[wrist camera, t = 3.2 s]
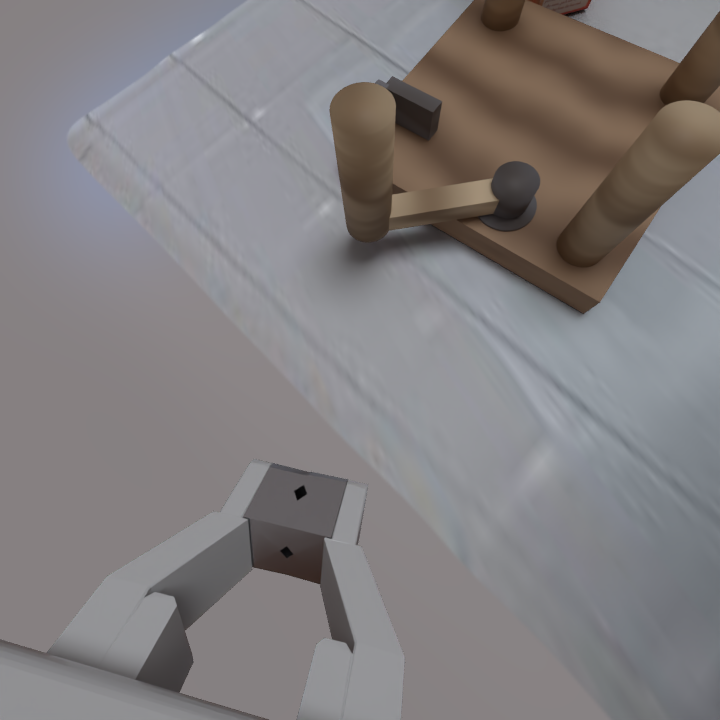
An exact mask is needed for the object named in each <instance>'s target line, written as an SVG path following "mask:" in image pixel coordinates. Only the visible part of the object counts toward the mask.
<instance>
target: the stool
mask: <svg viewBox="0 0 720 720" xmlns="http://www.w3.org/2000/svg"><path fill="white" fill-rule="evenodd" d="M375 84H378V85H380V86H383V87H384V88H386V89H387V90H388V91H389V92H390V93H391V94H392V95H393V97H394V99H395V103H396V116H395V139H394V162H393V185H392V195H393V194H399V193H406V192H412V191H418V190H424V189H430V188H436V187H442V186H449V185H455V184H461V183H467V182H473V181H479V180H486V179H492V178H493V177H494V174H495V172H496V170H497V169H498V168H499V167H500V166H501V165H503V164H505V163H507V162H511V161H520V162H524V163H527V164H529V165H531V166H532V167H534V168H535V169H536V171H537V172H538V174H539V176H540V186H539V189H538V190H537V192H536V194H535V195H534V197H533V199H532V201H531V202H530V204H529V206H528V207H527V209H526V211H525V212H524V213H523V214H522V215H520V216H518V217H515V218H510V219H506V218H501V217H498V216H496V215H494V214H489V215H483V216H476V217H470V218H464V219H458V220H452V221H445V222H439V223H433V224H431V225H433V226H435V227H436V228H438V229H440V230H442V231H443V232H445V233H447V234H448V235H450V236H452V237H453V238H455V239H457V240H459V241H460V242H462V243H464V244H465V245H467V246H469V247H471V248H472V249H474V250H476V251H477V252H479V253H481V254H483V255H484V256H486V257H488V258H489V259H491V260H493V261H494V262H496V263H498V264H500V265H501V266H503V267H505V268H506V269H508V270H510V271H512V272H513V273H515V274H517V275H518V276H520V277H522V278H523V279H525V280H527V281H529V282H530V283H532V284H534V285H535V286H537V287H539V288H541V289H542V290H544V291H546V292H547V293H549V294H551V295H552V296H554V297H556V298H558V299H559V300H561V301H563V302H564V303H566V304H568V305H570V306H571V307H573V308H575V309H576V310H578V311H580V312H581V313H583V314H584V313H585V312H587V311H588V310H590V309H591V308H592V307H594V306H595V305H597V304H598V303H600V301H601V300H602V298H603V297H604V295H605V293H606V292H607V290H608V289H609V287H610V286H611V284H612V282H613V281H614V279H615V278H616V276H617V275H618V273H619V271H620V270H621V268H622V267H623V265H624V264H625V262H626V260H627V259H628V257H629V256H630V254H631V253H632V251H633V249H634V248H635V246H636V245H637V243H638V242H639V240H640V238H641V237H642V235H643V234H644V232H645V231H646V229H647V227H648V226H649V224H650V223H651V221H652V220H653V218H654V216H655V215H656V213H657V212H658V210H659V209H660V207H661V206H662V205H663V204H664V203H665V202H666V201H667V200H668V199H670V198H671V197H672V196H673V195H674V194H675V193H676V192H677V191H678V190H680V189H681V188H682V187H683V186H684V185H685V184H686V183H687V182H688V181H690V180H691V179H692V178H693V177H694V176H695V175H696V174H697V173H698V172H700V171H701V170H702V169H703V168H704V167H705V166H706V165H707V164H709V163H710V162H711V161H712V160H713V159H714V158H715V157H716V156H717V155H719V154H720V11H719V13H718V14H717V15H716V17H715V18H714V19H713V21H712V22H711V23H710V25H709V26H708V27H707V29H706V30H705V31H704V32H703V34H702V35H701V36H700V38H699V39H698V40H697V42H696V43H695V44H694V46H693V47H692V48H691V50H690V51H689V52H688V54H687V55H686V56H685V57H684V59H683V60H682V61H681V63H678V62H675V61H673V60H671V59H668V58H666V57H663V56H661V55H659V54H656V53H654V52H651V51H649V50H646V49H644V48H642V47H639V46H637V45H634V44H632V43H630V42H627V41H625V40H622V39H620V38H618V37H615V36H613V35H610V34H608V33H605V32H603V31H601V30H598V29H596V28H593V27H591V26H589V25H586V24H584V23H581V22H579V21H576V20H574V19H572V18H569V17H567V16H564V15H562V14H560V13H557V12H555V11H552V10H550V9H548V8H545V7H543V6H540V5H538V4H535V3H533V2H531V1H528V0H474V1H473V2H472V3H471V4H470V5H469V7H468V8H467V9H466V10H465V11H464V12H463V13H462V14H461V16H460V17H459V18H458V19H457V20H456V21H455V22H454V23H453V25H452V26H451V27H450V28H449V29H448V30H447V31H446V32H445V34H444V35H443V36H442V37H441V38H440V39H439V40H438V41H437V43H436V44H435V45H434V46H433V47H432V48H431V49H430V50H429V52H428V53H427V54H426V55H425V56H424V57H423V58H422V59H421V61H420V62H419V63H418V64H417V65H416V66H415V67H414V68H413V70H412V71H411V72H410V73H409V74H408V75H407V76H406V77H405V79H404V80H403V81H401V80H399V79H397V78H395V77H393V76H392V77H391V78H390V80H389V81H388V82H387V83H385V82H383V81H381V80H379V79H378V81H377V82H376V83H375Z"/></svg>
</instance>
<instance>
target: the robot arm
mask: <svg viewBox="0 0 720 720" xmlns="http://www.w3.org/2000/svg"><path fill="white" fill-rule="evenodd" d="M367 490H368V484H365V483H360V482H356V481H351V480H348V479H343V478H338V477H334V476H329V475H324V474H319V473H314V472H307V471H303V470H299V469H295V468H291V467H287V466H282V465H279V464H275V463H270V462H265V461H261V460H257V459H254V460H253V461H252V462H250V463H249V465H248V466H247V468H246V470H245V471H244V473H243V475H242V476H241V478H240V479H239V481H238V483H237V484H236V486H235V488H234V489H233V491H232V493H231V494H230V496H229V497H228V499H227V501H226V502H225V504H224V506H223V507H222V509H221V511H220V512H216V511H213V512H211V513H210V514H208V515H206V516H205V517H203V518H201V519H200V520H198V521H196V522H195V523H193V524H192V525H190V526H188V527H187V528H185V529H183V530H182V531H180V532H179V533H177V534H175V535H174V536H172V537H170V538H169V539H167V540H165V541H164V542H162V543H160V544H159V545H157V546H156V547H154V548H153V549H151V550H149V551H147V552H146V553H144V554H142V555H141V556H140V557H138V558H136V559H134V560H133V561H131V562H129V563H128V564H126V565H125V566H123V567H121V568H120V569H118V570H116V571H115V572H113V573H111V574H110V575H108V576H107V577H106V578H105V579H104V580H103V582H102V583H101V584H100V586H99V587H98V588H97V589H96V591H95V592H94V593H93V595H92V596H91V597H90V598H89V600H88V601H87V602H86V603H85V605H84V606H83V607H82V608H81V610H80V611H79V612H78V614H77V615H76V616H75V617H74V619H73V620H72V621H71V623H70V624H69V625H68V626H67V627H66V629H65V630H64V632H63V633H62V634H61V635H60V636H59V638H58V639H57V640H56V641H55V643H54V644H53V645H52V647H51V648H50V649H49V650H48V652H47V653H44V652H41V651H37V650H34V649H31V648H27V647H24V646H20V645H17V644H14V643H11V642H7V641H4V640H0V720H268V719H265V718H261V717H258V716H255V715H251V714H248V713H244V712H241V711H238V710H235V709H231V708H228V707H225V706H221V705H218V704H215V703H211V702H208V701H204V700H201V699H198V698H194V697H191V696H188V695H184V694H181V693H179V692H180V690H181V688H182V685H183V683H184V681H185V679H186V677H187V675H188V673H189V670H190V668H191V666H192V664H193V657H192V652H191V649H190V646H189V643H188V640H187V637H186V633H185V630H186V629H187V628H188V627H190V626H191V625H192V624H193V623H194V622H195V621H196V620H197V619H198V618H199V617H201V616H202V615H203V614H204V613H205V612H206V611H207V610H208V609H209V608H210V607H212V606H213V605H214V604H215V603H216V602H217V601H218V600H219V599H220V598H221V597H223V596H224V595H225V594H226V593H227V592H228V591H229V590H230V589H231V588H233V586H235V585H236V584H237V583H238V582H239V581H240V580H241V579H242V578H243V577H245V576H246V575H247V574H248V573H249V572H250V571H251V570H252V567H254V568H259V569H263V570H268V571H272V572H277V573H282V574H286V575H289V576H293V577H297V578H300V579H303V580H307V581H311V582H314V583H317V584H320V587H321V592H322V596H323V601H324V605H325V609H326V614H327V618H328V623H329V627H330V632H331V636H332V639H328V638H323V639H322V640H321V641H320V642H318V643H317V644H316V647H315V651H314V655H313V659H312V663H311V667H310V670H309V674H308V678H307V682H306V686H305V689H304V693H303V697H302V701H301V705H300V709H299V712H298V716H297V720H401V712H402V697H403V682H404V664H405V656H404V654H403V651H402V648H401V646H400V643H399V641H398V638H397V635H396V633H395V630H394V628H393V625H392V623H391V620H390V618H389V615H388V612H387V610H386V607H385V605H384V602H383V599H382V597H381V594H380V592H379V589H378V586H377V584H376V581H375V579H374V576H373V574H372V571H371V569H370V566H369V563H368V561H367V558H366V555H365V553H364V550H363V548H362V546H358V541H359V536H360V531H361V525H362V519H363V513H364V507H365V501H366V496H367Z"/></svg>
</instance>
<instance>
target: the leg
mask: <svg viewBox="0 0 720 720" xmlns="http://www.w3.org/2000/svg"><path fill="white" fill-rule="evenodd" d="M395 116H396V103H395V99H394V97H393V95H392V94H391V93H390V92H389V91H388V90H387V89H386V88H384V87H383V86H380V85H378V84H375V83H369V82H361V83H355V84H351V85H349V86H347V87H345V88H343V89H342V90H340V91H339V92H338V93H337V94H336V95H335V96H334V98H333V99H332V102H331V104H330V117H331V124H332V131H333V137H334V144H335V151H336V158H337V164H338V171H339V178H340V185H341V192H342V198H343V205H344V212H345V219H346V225H347V229H348V232H349V233H350V235H351V236H352V237H353V238H355V239H356V240H359V241H361V242H375V241H378V240H380V239H381V238H383V237H384V236H385V235H386V234H387V233H388V231H389V230H396V229H402V228H408V227H414V226H420V225H427V224H433V223H439V222H445V221H452V220H458V219H464V218H470V217H476V216H483V215H489V214H494V215H496V216H498V217H501V218H506V219H510V218H515V217H518V216H520V215H522V214H523V213H524V212H525V211H526V209H527V207H528V206H529V204H530V202H531V201H532V199H533V197H534V195H535V194H536V192H537V190H538V189H539V186H540V176H539V174H538V172H537V171H536V169H535V168H534V167H532V166H531V165H529V164H527V163H524V162H520V161H511V162H507V163H505V164H503V165H501V166H500V167H499V168H498V169H497V170H496V172H495V174H494V177H493V178H492V179H486V180H479V181H473V182H467V183H461V184H455V185H449V186H442V187H436V188H430V189H424V190H418V191H412V192H406V193H399V194H393V195H392V185H393V162H394V139H395Z"/></svg>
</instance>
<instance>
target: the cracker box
mask: <svg viewBox="0 0 720 720" xmlns="http://www.w3.org/2000/svg"><path fill="white" fill-rule="evenodd" d="M528 1H531V2H533V3H535V4H538V5H540V6H543V7H545V8H548V9H550V10H552V11H555V12H557V13H560V14H562V15H564V14H568V13H572V12H576V11H579V10H583V9H587V8H588V6H589V4H590V2H591V0H528Z"/></svg>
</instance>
